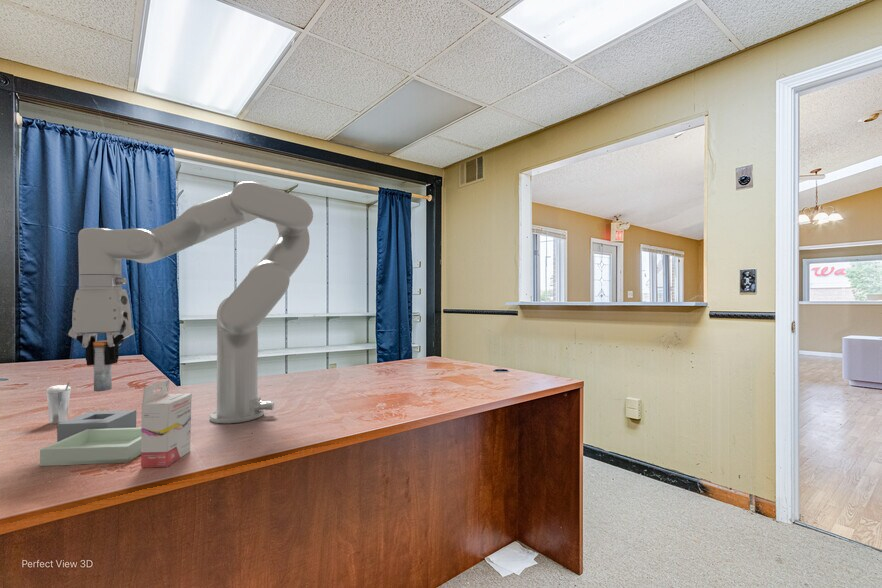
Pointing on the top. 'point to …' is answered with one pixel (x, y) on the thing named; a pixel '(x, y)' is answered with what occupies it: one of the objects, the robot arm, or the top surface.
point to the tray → (94, 447)
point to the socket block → (96, 422)
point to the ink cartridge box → (164, 426)
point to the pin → (101, 367)
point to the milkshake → (58, 403)
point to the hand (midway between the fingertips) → (102, 363)
